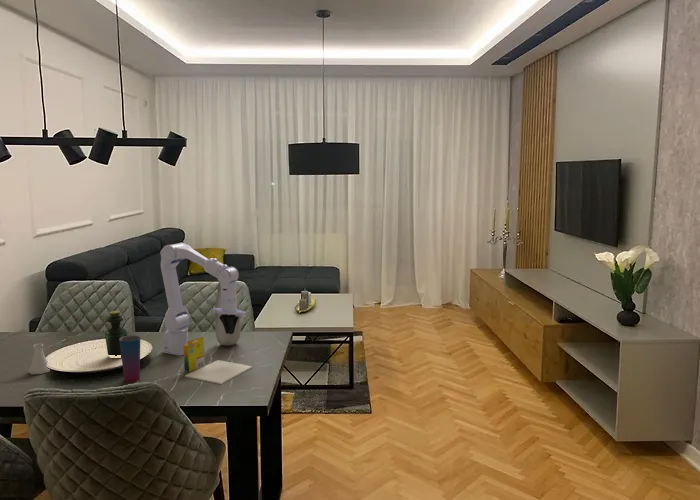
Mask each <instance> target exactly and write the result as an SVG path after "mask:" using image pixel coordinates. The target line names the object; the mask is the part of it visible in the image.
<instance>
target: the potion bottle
mask: <svg viewBox="0 0 700 500" xmlns="http://www.w3.org/2000/svg"><path fill="white" fill-rule="evenodd" d="M120 314H121V311H120V310H112V311H109V317H107V321H106V322H107V323H110V326H111V327H110V328H108V329H107V330H106V331H105V333H104V338H105V344H106V352H107V356H108V355H115V356H117V355H121V349H120V341H119V339H120V338H121V337H124V336H128V331H127V330H126V328H123V327H121V322H123V321H124V318H123V316H121V315H120Z"/></svg>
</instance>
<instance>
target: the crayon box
mask: <svg viewBox="0 0 700 500" xmlns="http://www.w3.org/2000/svg"><path fill="white" fill-rule="evenodd" d="M187 343H188V344H186V345H183V349H184V354H183V361H184V362H183V364H184V365H183V366H184V367H183V368H184V372H187V373H191V372H194V371H196V370H198V369H200V368H202V367H204V366H206V365H205V362H206V361H205V347H204V346H205V345H204V336H201V337H198V338H194V339H192V340H188V342H187Z"/></svg>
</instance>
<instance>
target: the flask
mask: <svg viewBox="0 0 700 500" xmlns="http://www.w3.org/2000/svg"><path fill="white" fill-rule="evenodd" d="M32 347H33V356H32V361H31V364H30V366H29V370H28V374H30V375H42V374H46V373H49V372H50V371H51V370H50V369H48V368H47V366H46V365H47V363H48V364H49V362H48V360H47V357H46V356H45V353H44V349H43V347H44V344H43V343H35V344H33V345H32Z"/></svg>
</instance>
